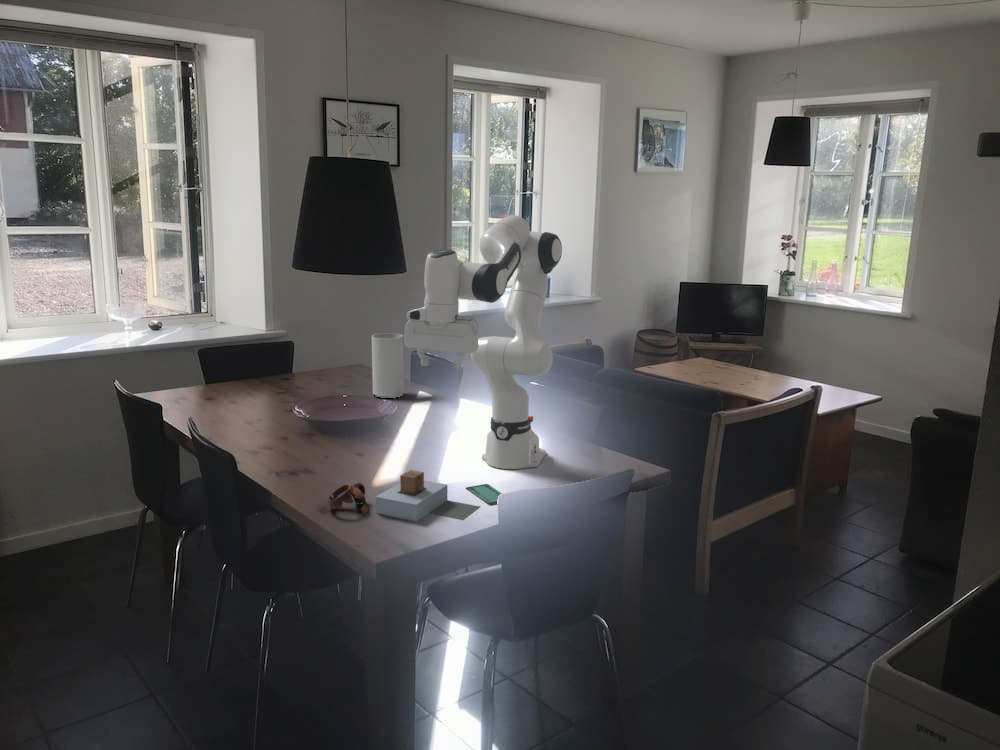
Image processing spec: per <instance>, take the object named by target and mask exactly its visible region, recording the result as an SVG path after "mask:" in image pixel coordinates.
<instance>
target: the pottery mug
mask: <svg viewBox="0 0 1000 750" xmlns="http://www.w3.org/2000/svg"><path fill="white" fill-rule="evenodd" d="M327 503H329V504H328V505H329V506H328V508H329V510H331V511H333V510H336V509H339V510H343V503H347V504H353V503H355V504H359V505H360V504H362V506H361V507H360V511H361V512H362V514H363V515H364V514H366V513H368V512H369V510H370V507H369V505H368V503H367V501H366V487H365V486H364V484H363V483H360V482H357V483H355V484H353V485H352V484H351V483H345V484H343V485H341V486H339V487H338V488H336V489H335V490H334V491H333V492H331V495H329V496H328V497H327Z"/></svg>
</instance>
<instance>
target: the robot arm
mask: <svg viewBox="0 0 1000 750" xmlns="http://www.w3.org/2000/svg"><path fill="white" fill-rule="evenodd" d="M479 252H480V254H481V256H482V257H483V259H484V260H485V261H486V263H479V262H478V263H476V262H463V261H462V260H460V259H459V258H458V254H457V251H455V250H453V249H445V248H444V249H436V250H433V251H430V252H429V253H427V256H426V259H425V265H424V277H423V278H424V279H423V280H424V283H423V284H424V285H423V286H424V289H425V297H424V301H423V306H422V307H419V308H416V309H412V310H408V311H407V312H406V319H407V320H408V321H407V322H406V323H405V326H404V335H403V344H405V346H406V347H407V348H414V349H416V353H417V355H418V357H419V359H420V365H421V366H425V367H427V366H429V364H430V359H429V358H427V356H426V354H425V352H426V350H434V351H441V352H442V351H443V352H454V353H456V357H457V359H456V361H453V362H452V369H453V370H460V369H462V362H463V360H464V359H465V357H466V354H470V358H471V361H472V363H473V366H474V367H475V368H476V369H477V370H479V371H480V372H481V373H482V375H483V376H484V378H485V380H486V382H487V384H488V386H489V389H490V393H491V406H492V410H491V412H492V416H491V417H490V424H489V425H490V431H489V432H488V433H487V434H486V445H485V453H483V454H482V455H481V459H482V460H484V461H485V462H486V464H487V465H489V466H491V467H493V468H497V469H503V470H520V469H524V468H538V467H539V466H540V464H541V462H542V461H543V459H544V457H545V456H546V455H547V450H546V449H544V448H541V447H540V437H539V436H538V434H537V433H535V432H534V431H533V430H532V426H531V425H532V423H533V421H534V416H533V415H529V409H530V408H529V406H530V403H529V401H530V396H529V394H528V391H527V390H526V389H525V388H524V387H523V386H521V385H520V384H519V383H518V382H517V381H516V379H515V378H514V377H515V376H523V377H536V376H544V375H546V374H547V373H548V372H549V370H550V369H551V367H552V365H553V359H554V357H553V351H552V349H551V347H550V346H549V344H547V342H546V341H545V339H544V338H543V337H542V333H541V327H540V326H541V320H542V315H543V310H544V309H543V308H544V306H545V302H546V296H547V291H548V284H549V283H548V281H549V276H548V275H549V274H550V273H551V272H552V271H553V269H554V268H555V267H557V265H558V264H559V262H560V261H561V258H562V255H563V254H562V253H563V246H562V240H561V239H560V238H559V236H558V234H555V233H552V232H548V231H545V232H540V231H531V227H530V225H529V223H528V222H527V220H526V219H525V218H523V217H522V216H519V215H516V214H515V215H514V214H513V215H508V216H506V217H503V218H501V219H499V220H497V221H496V222H495V223H493V224H492V225H491V226H490V227H489V228H487V229H486V230H485V231H483V233H482V235H481V237H480V239H479ZM517 269H518V273H517V275H516V277H515V278H514V281H513V283H512V286H511V288H510V292H509V296H508V299H507V303H506V306H505V310H504V312H503V313H504V315H503V316H504V320H505V322H506V324H507V325H508V326H509V327H510V328H512V330H515V335H514V337H507V336H495V335H492V336H489V335H488V336H483V337H479V336H478V329H479V328H478V326H479V325H478V324H479V323H478V321H477V320H476V318H474V317H473V316H464V315H459V314H460V313H459V304H460V302H459V299H460V300H468V301H469V300H470V301H480V302H482V303H483V302H484V303H485V302H486V303H491V304H492V303H495V302H497V301H498V300H500V298H502V296H503V295H504V293H505V291H506V288H507V284H508V283H509V281H510V280H511V278H512V277H513V275H514V273H515V272H516V270H517ZM478 337H479V338H478ZM514 375H515V376H514Z"/></svg>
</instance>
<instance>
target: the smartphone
mask: <svg viewBox="0 0 1000 750" xmlns="http://www.w3.org/2000/svg"><path fill="white" fill-rule="evenodd" d="M465 490H467V491H468V492H469V493H471V494H472V495H474V496H475V497H476V498H478V499H479V500H480V501H482V502H483V503H485V504H487V505H488V506H491V507H494V506H498V505H497V499H498V496H499V495H500V494H503V493H502V492H501V491H500V490H497V489H496V488H494V487H493V486H492V485H491V484H489V483H484V484H477V485H472V486H467V487H465Z"/></svg>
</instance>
